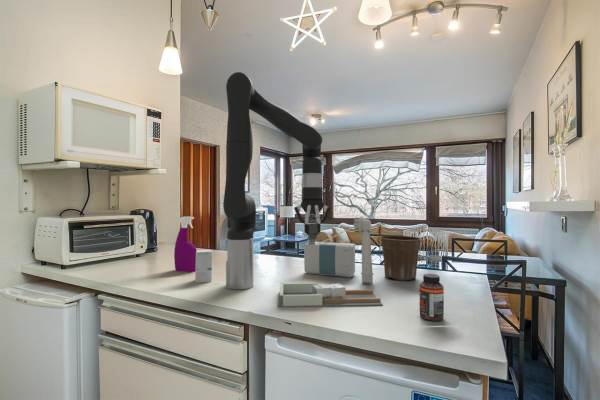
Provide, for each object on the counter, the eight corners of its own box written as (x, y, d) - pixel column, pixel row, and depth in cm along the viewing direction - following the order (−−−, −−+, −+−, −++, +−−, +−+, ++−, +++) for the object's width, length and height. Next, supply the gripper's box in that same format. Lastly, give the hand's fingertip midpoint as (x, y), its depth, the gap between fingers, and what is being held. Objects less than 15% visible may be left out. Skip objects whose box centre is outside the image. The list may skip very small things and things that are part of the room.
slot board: (277, 307, 92) (277, 302, 92) (278, 293, 106) (278, 289, 106) (382, 305, 93) (382, 300, 93) (370, 291, 107) (370, 287, 107)
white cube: (317, 302, 95) (316, 288, 95) (312, 297, 100) (311, 285, 100) (330, 300, 97) (330, 287, 97) (325, 296, 101) (325, 283, 101)
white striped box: (303, 274, 133) (303, 227, 133) (310, 270, 140) (310, 225, 140) (352, 279, 125) (352, 228, 125) (356, 274, 132) (356, 227, 132)
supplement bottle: (415, 313, 86) (415, 272, 86) (436, 313, 87) (436, 272, 87) (426, 322, 80) (425, 278, 80) (448, 321, 81) (448, 277, 81)
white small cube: (332, 301, 96) (332, 288, 96) (326, 297, 100) (326, 284, 100) (345, 300, 97) (345, 287, 97) (339, 295, 101) (339, 283, 101)
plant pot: (412, 272, 136) (412, 235, 136) (429, 282, 120) (428, 239, 120) (375, 272, 136) (375, 235, 136) (386, 282, 119) (386, 240, 119)
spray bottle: (177, 271, 139) (177, 216, 139) (198, 272, 136) (198, 216, 136) (172, 272, 136) (172, 216, 137) (194, 274, 133) (194, 216, 134)
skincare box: (195, 284, 117) (194, 252, 117) (196, 281, 122) (196, 250, 122) (212, 283, 119) (212, 251, 119) (212, 280, 123) (212, 249, 123)
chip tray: (279, 306, 92) (279, 295, 92) (280, 292, 106) (280, 283, 106) (322, 305, 92) (322, 295, 92) (317, 291, 106) (317, 282, 106)
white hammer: (371, 285, 115) (370, 217, 115) (353, 283, 118) (353, 216, 118) (374, 282, 120) (374, 216, 120) (357, 280, 123) (357, 216, 123)
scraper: (307, 244, 118) (309, 235, 108) (306, 230, 121) (308, 220, 111) (315, 244, 118) (317, 235, 108) (314, 230, 121) (317, 220, 111)
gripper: (293, 186, 109) (293, 235, 109) (333, 186, 110) (333, 235, 110) (292, 187, 117) (292, 233, 117) (330, 186, 117) (330, 233, 117)
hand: (312, 234), depth 113 cm, fingers closed on scraper, 3 cm apart
